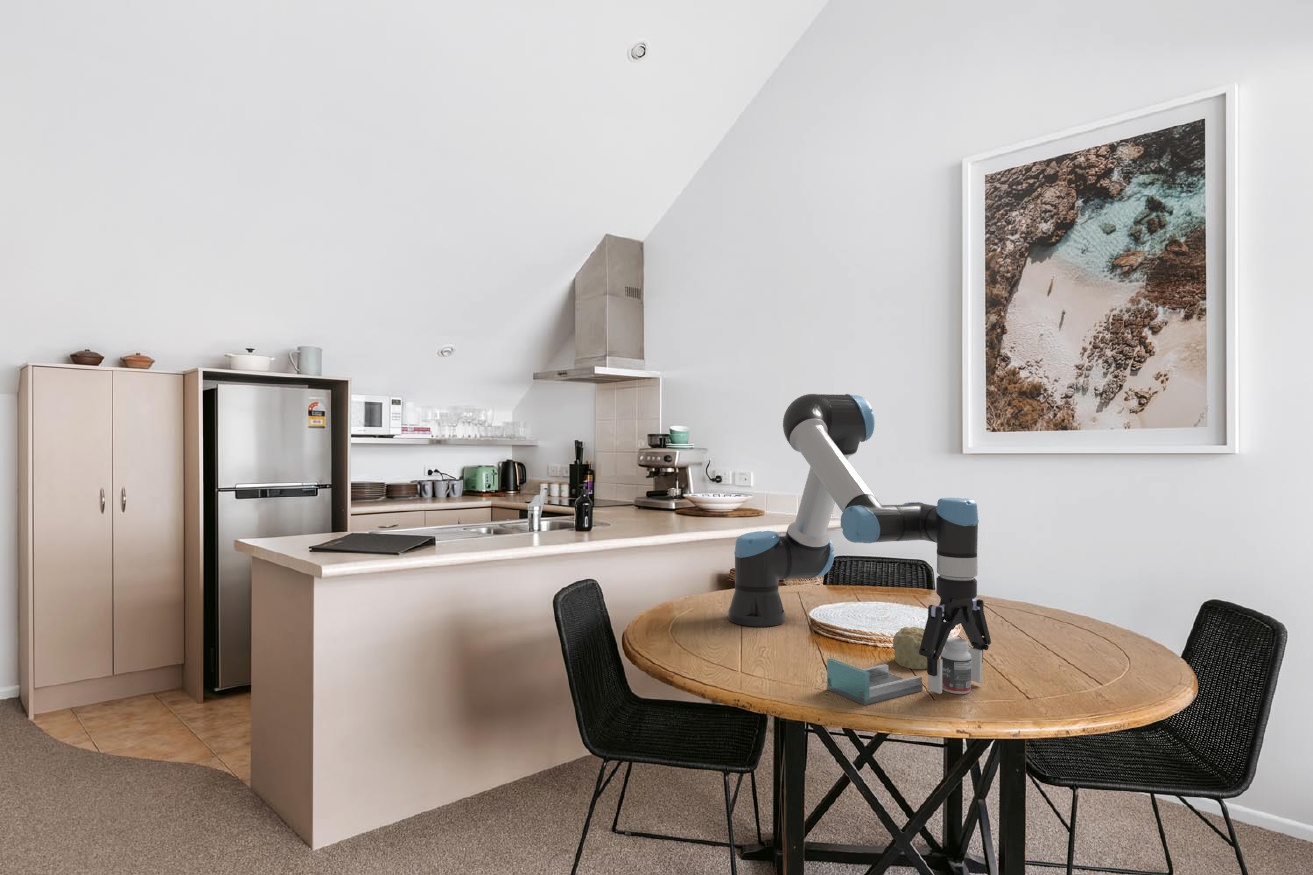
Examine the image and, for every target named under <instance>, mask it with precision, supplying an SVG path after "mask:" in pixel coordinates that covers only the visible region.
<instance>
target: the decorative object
mask: <svg viewBox="0 0 1313 875" xmlns="http://www.w3.org/2000/svg"><path fill="white" fill-rule="evenodd" d="M924 630H925V628H923V627H917V626H911V627H909V626H904V627H902V628H900V629H899V631H897V632H896V633H895V634H894V635H893V639H892V648H893V650H894V652H893V653H894V660H895V662H896V663H897V665H899V666H901V667H904V668H907V669H912V670H925V669H926V670H927V657H925V656H922V655H920V654H919V650H920V646H921V642H922V638H923V634H924ZM926 650H927V649H926ZM934 653H935V651H934Z"/></svg>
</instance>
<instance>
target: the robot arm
mask: <svg viewBox="0 0 1313 875" xmlns="http://www.w3.org/2000/svg"><path fill="white" fill-rule="evenodd" d="M782 430H783V434H784V436H785V439H786V441H787V443H788V444H789V445H790V447H791V448H792V449H793V450H794V451H796V452H798V453H801V454H800V455H802V457H803V458H804V460H806V462H807V463H808V465H809V466H810V467H809V471H808V474H807V478H806V481H805V485H804V488H803V489H804V490H803V493H802V495H801V500H800V504H799V507H798V511H797V514H796V517H795V521H794V522H792V523H789V525H788V527H787V529H786V531H785V532H786V533H785V535H779V533H778V532H776V531H774V530H773V531H772V530H764V531H762V530H758V531H751V532H748V533H744V534H741V535H739V536H738V538H736V541H735V544H734V545H735V548H734V553H733V554H734V592H733V596H732V598H731V602H730V607H729V608H728V612H727V616H728V618H727V619H728V621H729V622H731V623H733V624H736V625H741V626H745V627H746V626H747V627H754V628H755V627H757V628H758V627H762V628H763V627H764V628H765V627H775V626H778V625H779V626H780V625H782V624H784V623H785V621H786V619H785V618H786V612H785V609H784V606H783V603H782V599H781V595H780V592H779V582H780V580H781V581H782V580H797V579H813V578H818V577H822V576H824V575H826V574H827V573H828V572H829V571H830V570H831V568H832V566H833V564H834V561H835V560H834V559H835V554H834V551H835V548H834V544H833V542H832V540H831V537H830V534H829V532H828V531H827V530H828V528H829V524H830V521H831V517H832V514H833V511H834V507H835V504H836V505H837V506H838V509H839V510H840V511H841V512H842V513H841V516H840V528H841V529H842V531H841V532H842V535H843V536H844V538H845V539H846V540H848V541H849V542H851V543H855V544H859V543H860V544H872V543H873V544H874V543H887V542H909V541H928V542H932V543H936V573H937V574H938V575H937V577H936V584H935V585H936V587H935V590H936V591H935V592H936V595H937V596H938V597H939V599H940V602H939V604H938V605H934V604H929V605H928V607H927V608H928V609H927V618H926V622H925V626H924V629H925V630H924V634H923V638H922V642H921V646H920V650H919V654H920V655H922V656H925V657H927V668H926V673H927V676H928V678H927V681H928V682H927V690H928V691H931V692H933V693H936V694H939V695H940V694H943V689H942V659H941V653H942V650H943V649H945V647H944V646H945V643H946V641H947V639H948V637H950V635H951V631H953V630H954V629H955V628H956V626H958V625H961V627H962V629H963V632H964V633H965V635H966V637H967V640H968V642H969V644H970V645H971V646H969V648H968V649H967V651H968V652H969V653H970V654H971V682H975V683H977V684H982V683H983V664H984V651H988V650H989V647H990V645H991V643H992V639H991V636H990V631H989V628H988V624H987V620H986V615H985V611H984V610H985V609H984V600H983V599H979V598H977V596H978V580H977V579H976V577H977V576H978V538H979V537H978V534H979V530H978V529H979V528H978V526H979V525H978V524H979V523H980V522H979V521H980V520H979V516H978V504H977V502H976V501H975V500H973V499H971V498H970V499H969V498H961V497H942V498H939V499H938V500H937V504H936V505H934V504H927V503H923V502H919V501H918V502H912V501H911V502H905V503H903V504H882V503H881V502H880V500H878V498H877V497H876V496H875V495H874V493H873V492H872V491H871V490H870V488H869V487H868V485H867V484H866V483H865V482H864V480H863V479H862V477H860V475H859V474H858V472H857V471H856V470H855V468H854V467H853V465H852V464H851V463H850V461H849V458H850V457H852V456H853V455H855V454H856V453H857V451H858V448H859V445H860V443H864V442H867V441H869V440H870V439H871V438H872V437H873V434H874V431H875V415H874V411H873V407H872V406H871V404H870V402H869V401H868V400H867V399H866V398H865V397H863V396H862V395H855V394H849V393H845V394H828V393H827V394H822V393H821V394H818V393H808V394H803V395H801V396H799V397H797V398H796V399H794V400H793V401H791V403H790V404H789V405H788V407H787V408H786V410H785V411H784V415H783V418H782ZM926 649H927V650H926ZM934 651H935V653H934Z"/></svg>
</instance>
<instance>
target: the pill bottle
mask: <svg viewBox="0 0 1313 875" xmlns="http://www.w3.org/2000/svg"><path fill="white" fill-rule="evenodd" d="M969 644H970V641H969V640H968V639H965V638H962V637H957V636H948V639H947V641H946V643H945V646H944V648H943V650H942V653H941V655H940V659H942V691H944V692H945V693H949V694H957V695H965V694H969V693H970V692H971V690H972V681H971V654H970V653H969V652H968V648H969V647H970V646H969Z"/></svg>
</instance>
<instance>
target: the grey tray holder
mask: <svg viewBox="0 0 1313 875" xmlns="http://www.w3.org/2000/svg"><path fill="white" fill-rule="evenodd" d="M826 677H827V678H826V690H828V691H830V692H832V693H835V694H836V695H839V696H842V697H844V698H846V699H848V700H851V701H852V702H856V703H859V704H860V705H863V706H868V705H872V704H876V703H879V702H880V703H881V702H883V701H887V700H891V699H895V698H900V697H903V696H906V695H910V694H914V693H918V692H922V691H923V689H924V688H923V686H924V685H923V684H922V683H923V682H922V681H923V677H922V676H920V675H915V676H910V677H906V678H903V677H901V676H899V675H895V674H893V673H889V664H886V663H885V664H879V665H875V666H871V667H866V668H860V667H859V668H858V667H856V666H853V665H851V664H848V663H845V662H842V661H839V660H836V659H835V658H827V660H826Z"/></svg>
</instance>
